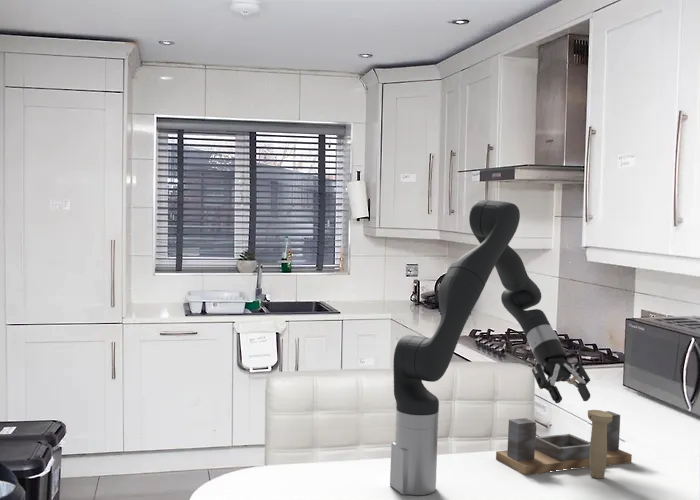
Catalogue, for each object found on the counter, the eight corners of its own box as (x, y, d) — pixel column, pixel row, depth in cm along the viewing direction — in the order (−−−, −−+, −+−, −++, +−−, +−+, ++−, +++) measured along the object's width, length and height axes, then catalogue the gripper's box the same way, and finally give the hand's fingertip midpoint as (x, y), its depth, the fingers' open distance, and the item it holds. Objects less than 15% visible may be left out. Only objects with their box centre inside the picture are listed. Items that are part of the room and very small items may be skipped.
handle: (599, 471, 177) (602, 409, 176) (613, 481, 171) (616, 416, 170) (580, 472, 176) (583, 410, 175) (594, 481, 170) (597, 417, 169)
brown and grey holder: (524, 475, 173) (526, 428, 172) (495, 459, 184) (497, 415, 183) (631, 462, 185) (633, 418, 184) (598, 448, 196) (600, 407, 196)
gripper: (530, 338, 186) (557, 394, 176) (575, 337, 192) (604, 390, 181) (516, 355, 191) (542, 410, 181) (561, 353, 197) (588, 406, 187)
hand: (573, 400), depth 181 cm, fingers open, 8 cm apart
